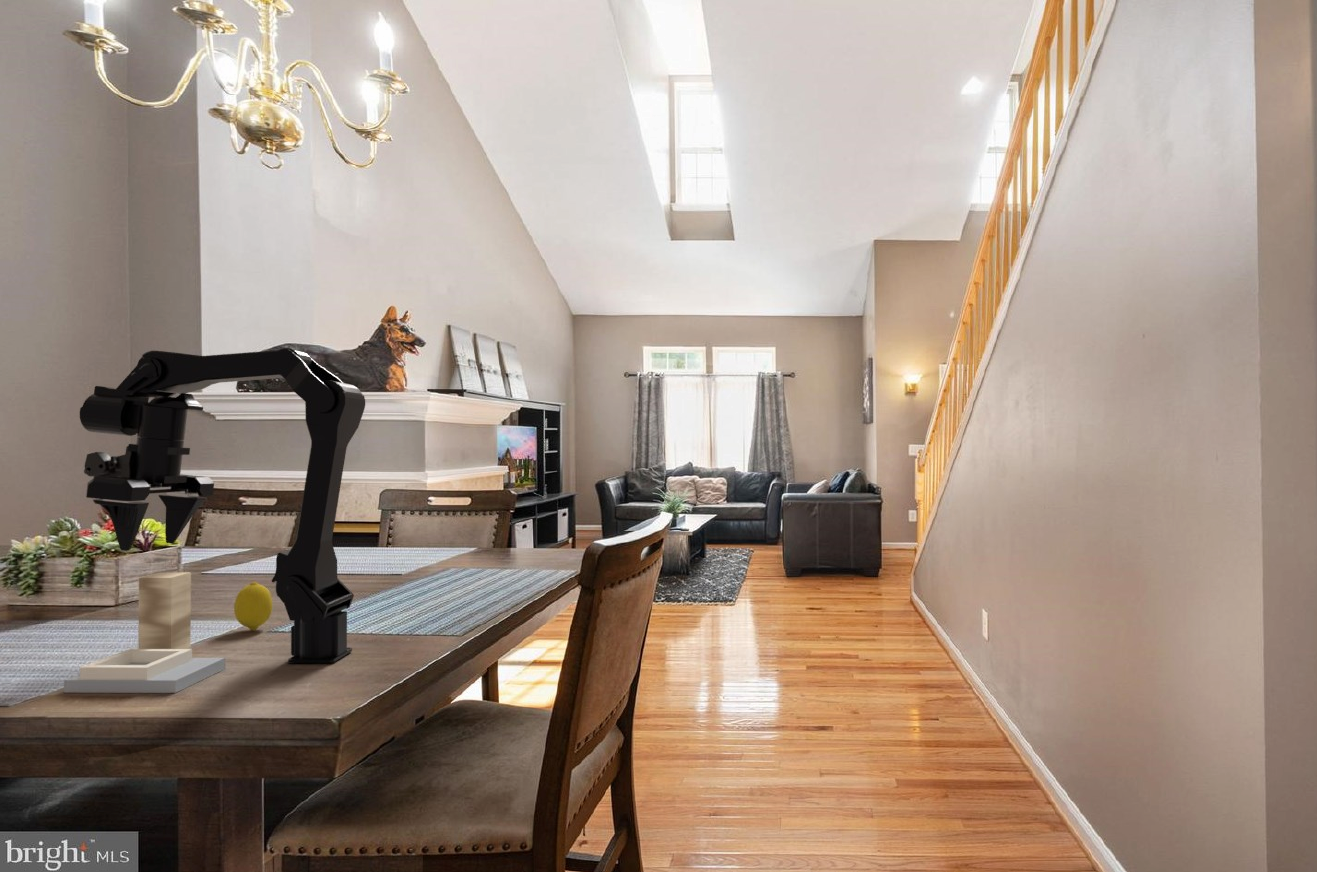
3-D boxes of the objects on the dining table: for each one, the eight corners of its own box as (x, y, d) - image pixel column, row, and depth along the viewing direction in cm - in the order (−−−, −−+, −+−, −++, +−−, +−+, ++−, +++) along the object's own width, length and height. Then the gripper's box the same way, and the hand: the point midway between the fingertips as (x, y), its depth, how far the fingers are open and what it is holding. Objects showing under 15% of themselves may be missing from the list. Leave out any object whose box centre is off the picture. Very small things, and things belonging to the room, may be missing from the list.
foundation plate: (225, 668, 101) (225, 646, 101) (175, 692, 91) (175, 668, 91) (124, 668, 102) (124, 646, 102) (63, 692, 92) (64, 667, 92)
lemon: (230, 630, 123) (230, 581, 123) (267, 625, 127) (267, 577, 127) (239, 636, 119) (239, 586, 119) (276, 630, 123) (276, 582, 123)
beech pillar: (190, 654, 109) (191, 572, 109) (171, 663, 104) (171, 577, 104) (159, 655, 108) (159, 572, 109) (138, 664, 104) (138, 577, 104)
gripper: (151, 435, 118) (140, 534, 117) (52, 431, 99) (38, 548, 98) (220, 442, 117) (209, 541, 117) (135, 439, 99) (121, 557, 98)
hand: (148, 546), depth 108 cm, fingers open, 9 cm apart
